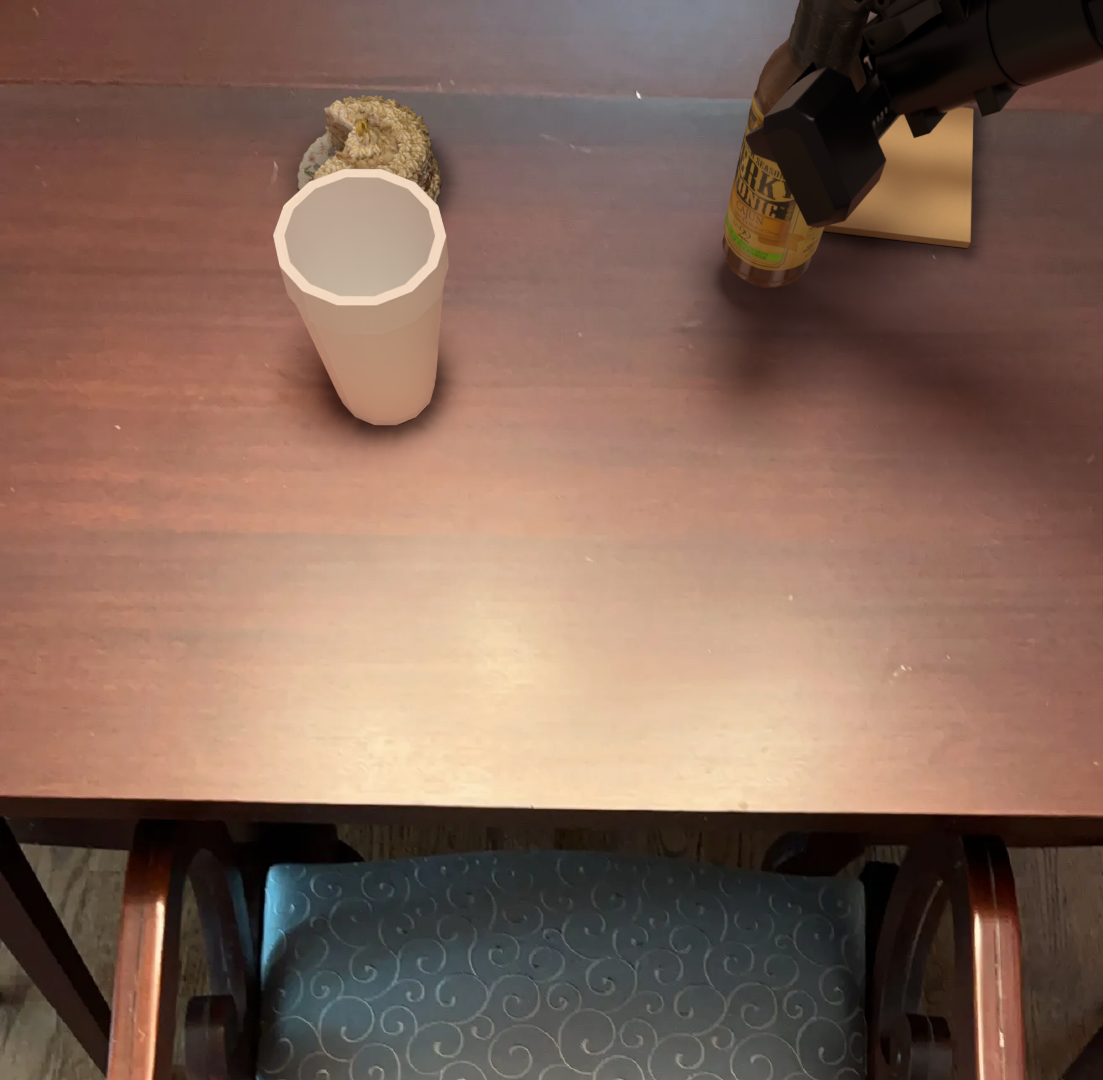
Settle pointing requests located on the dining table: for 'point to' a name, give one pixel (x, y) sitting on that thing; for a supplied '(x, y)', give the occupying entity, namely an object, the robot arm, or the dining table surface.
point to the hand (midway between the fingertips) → (781, 108)
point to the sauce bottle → (759, 187)
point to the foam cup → (368, 286)
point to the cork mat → (921, 186)
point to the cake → (373, 143)
